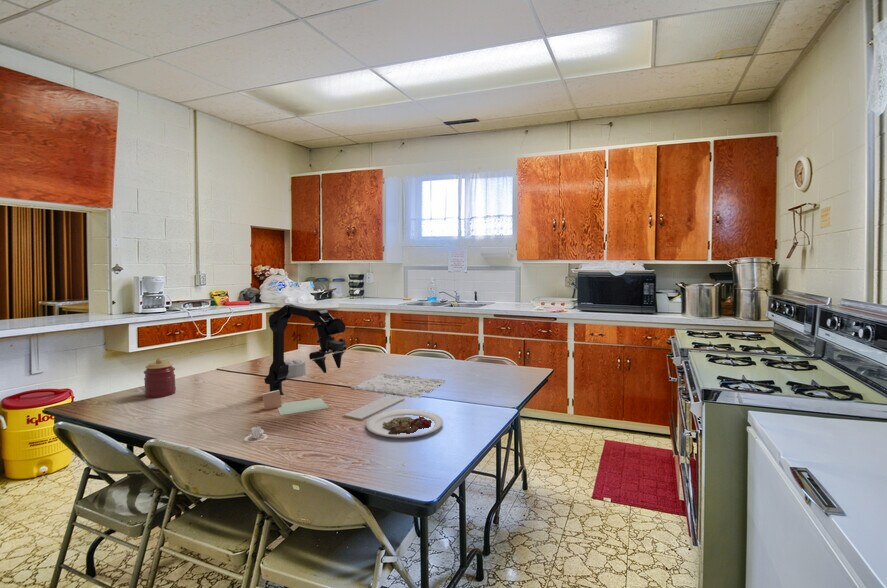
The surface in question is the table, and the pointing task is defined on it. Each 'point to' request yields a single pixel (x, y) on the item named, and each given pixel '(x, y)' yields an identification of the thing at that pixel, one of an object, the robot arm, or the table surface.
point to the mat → (302, 406)
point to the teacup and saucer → (256, 434)
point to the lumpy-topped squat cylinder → (295, 368)
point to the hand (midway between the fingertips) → (332, 370)
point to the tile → (272, 399)
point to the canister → (159, 379)
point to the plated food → (402, 423)
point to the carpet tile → (399, 385)
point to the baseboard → (373, 408)
